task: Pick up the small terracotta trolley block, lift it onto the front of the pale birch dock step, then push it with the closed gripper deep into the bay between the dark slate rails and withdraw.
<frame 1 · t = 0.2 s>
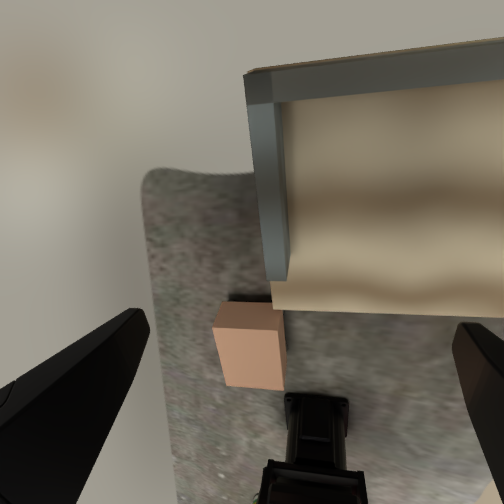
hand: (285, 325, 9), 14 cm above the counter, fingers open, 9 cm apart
dock: (390, 194, 21), on the counter
supplement bottle: (271, 498, 49), on the counter
trolley: (258, 323, 29), on the counter
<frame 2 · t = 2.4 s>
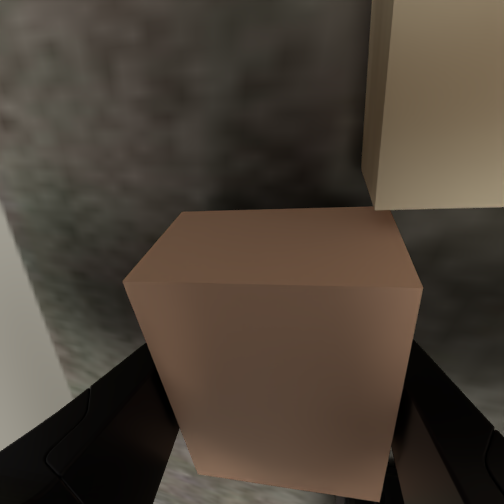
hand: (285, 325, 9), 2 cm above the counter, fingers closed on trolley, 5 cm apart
trolley: (289, 291, 11), on the counter, touching gripper
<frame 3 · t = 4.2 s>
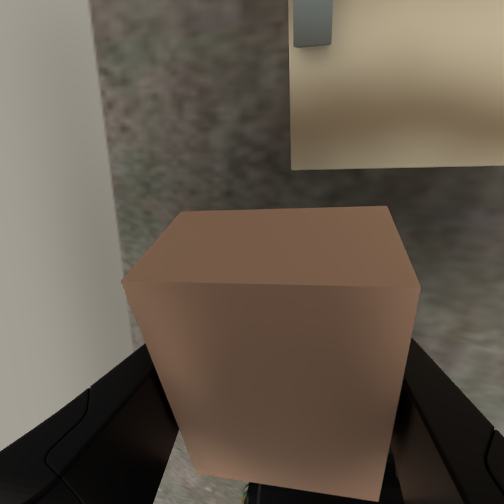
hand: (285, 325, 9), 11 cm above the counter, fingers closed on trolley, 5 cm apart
trolley: (288, 291, 11), point 10 cm above the counter, touching gripper
when the fingers open (5 cm above the counter, at t = 6.2 s): trolley stays where it is, resting on dock.
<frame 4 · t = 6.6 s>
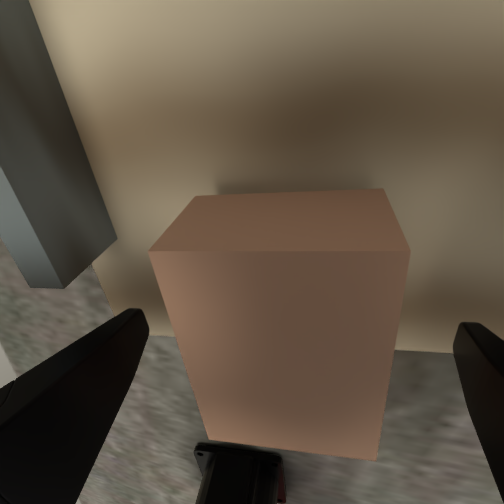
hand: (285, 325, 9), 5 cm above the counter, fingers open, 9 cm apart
dock: (291, 126, 11), on the counter
trolley: (293, 273, 11), point 2 cm above the counter, touching dock
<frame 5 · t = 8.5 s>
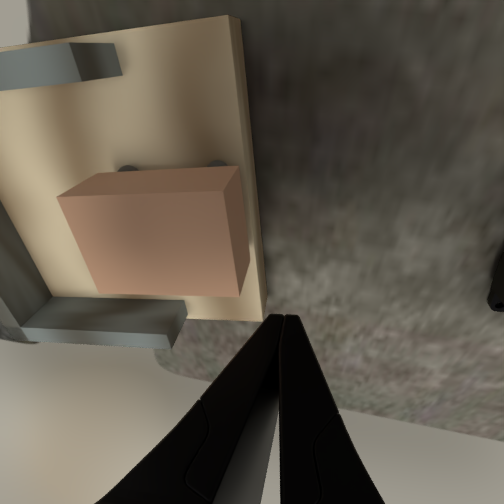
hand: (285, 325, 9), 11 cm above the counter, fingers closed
dock: (130, 193, 20), on the counter
trolley: (184, 208, 17), point 2 cm above the counter, touching dock
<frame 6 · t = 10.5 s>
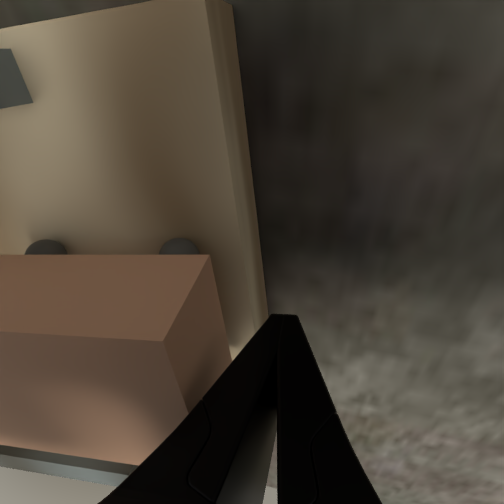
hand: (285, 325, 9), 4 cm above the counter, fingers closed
dock: (85, 258, 14), on the counter
trolley: (138, 296, 11), point 3 cm above the counter, touching gripper
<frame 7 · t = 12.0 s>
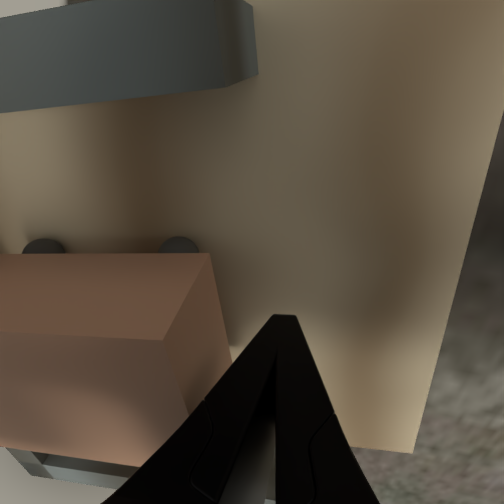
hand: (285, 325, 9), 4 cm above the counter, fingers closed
dock: (211, 258, 13), on the counter
trolley: (136, 295, 11), point 2 cm above the counter, touching dock, gripper
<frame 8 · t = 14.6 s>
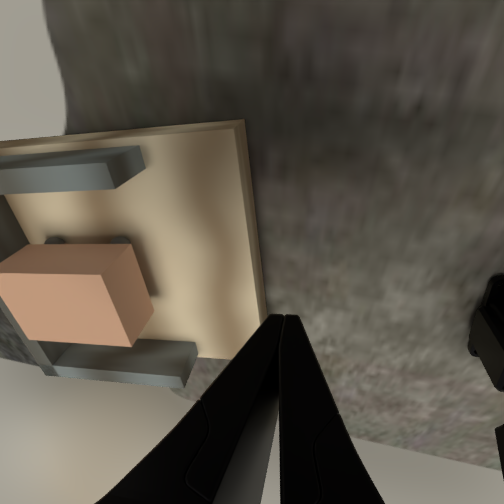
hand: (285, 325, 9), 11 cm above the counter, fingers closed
dock: (148, 248, 23), on the counter
trolley: (103, 267, 21), point 2 cm above the counter, touching dock
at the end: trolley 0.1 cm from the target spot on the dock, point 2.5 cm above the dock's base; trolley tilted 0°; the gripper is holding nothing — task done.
